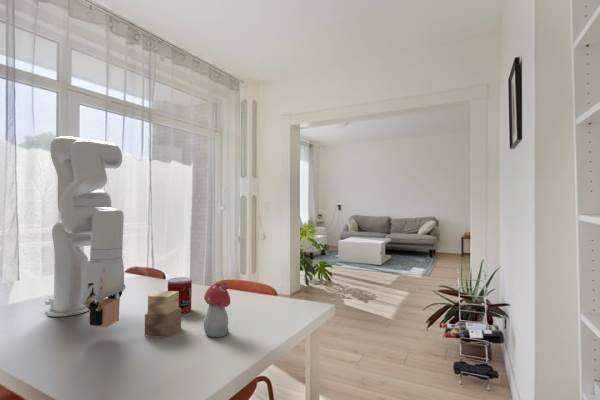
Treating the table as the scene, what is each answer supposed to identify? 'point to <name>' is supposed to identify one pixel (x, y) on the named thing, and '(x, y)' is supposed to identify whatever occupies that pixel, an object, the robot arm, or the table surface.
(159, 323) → the walnut base
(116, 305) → the terracotta block
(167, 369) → the table surface
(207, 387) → the table surface
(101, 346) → the table surface
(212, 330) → the decorative ornament
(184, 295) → the canned food
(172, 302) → the oak block
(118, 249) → the robot arm
